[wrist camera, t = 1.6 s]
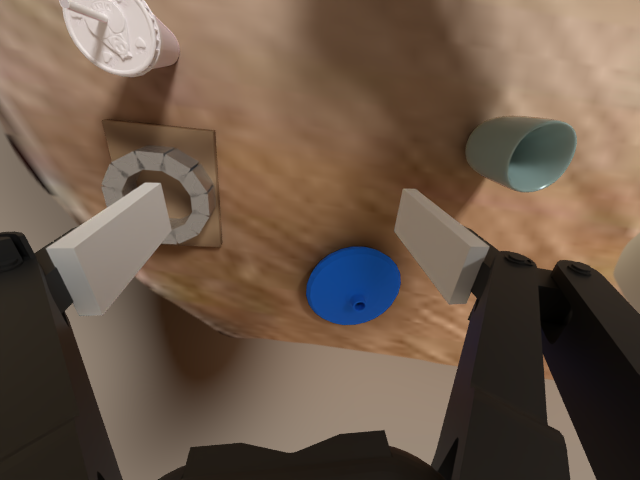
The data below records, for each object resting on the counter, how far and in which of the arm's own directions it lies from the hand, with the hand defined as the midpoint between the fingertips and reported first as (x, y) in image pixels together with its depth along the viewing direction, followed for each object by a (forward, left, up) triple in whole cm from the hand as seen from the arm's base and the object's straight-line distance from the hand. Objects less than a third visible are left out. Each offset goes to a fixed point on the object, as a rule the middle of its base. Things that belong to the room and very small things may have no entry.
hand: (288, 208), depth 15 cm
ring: (+8, -15, -22) cm, 27 cm away
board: (+8, -15, -23) cm, 28 cm away
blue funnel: (+22, +12, -23) cm, 34 cm away
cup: (-2, +27, -23) cm, 36 cm away
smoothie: (-8, -14, -23) cm, 28 cm away
